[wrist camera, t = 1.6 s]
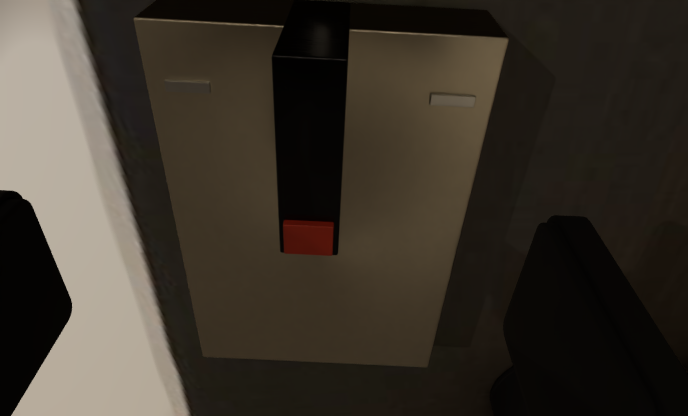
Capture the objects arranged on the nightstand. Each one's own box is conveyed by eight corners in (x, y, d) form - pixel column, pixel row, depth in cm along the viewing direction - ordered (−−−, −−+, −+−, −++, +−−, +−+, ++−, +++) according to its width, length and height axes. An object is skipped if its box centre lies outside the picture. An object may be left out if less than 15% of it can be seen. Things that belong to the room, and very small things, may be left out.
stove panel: (148, -109, 15) (105, -99, 12) (508, -88, 15) (540, -74, 12) (217, 310, 26) (201, 360, 24) (421, 320, 26) (428, 371, 24)
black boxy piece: (293, -1, 14) (269, 59, 10) (350, 2, 14) (348, 63, 10) (296, 166, 17) (278, 259, 13) (342, 168, 17) (337, 262, 13)
